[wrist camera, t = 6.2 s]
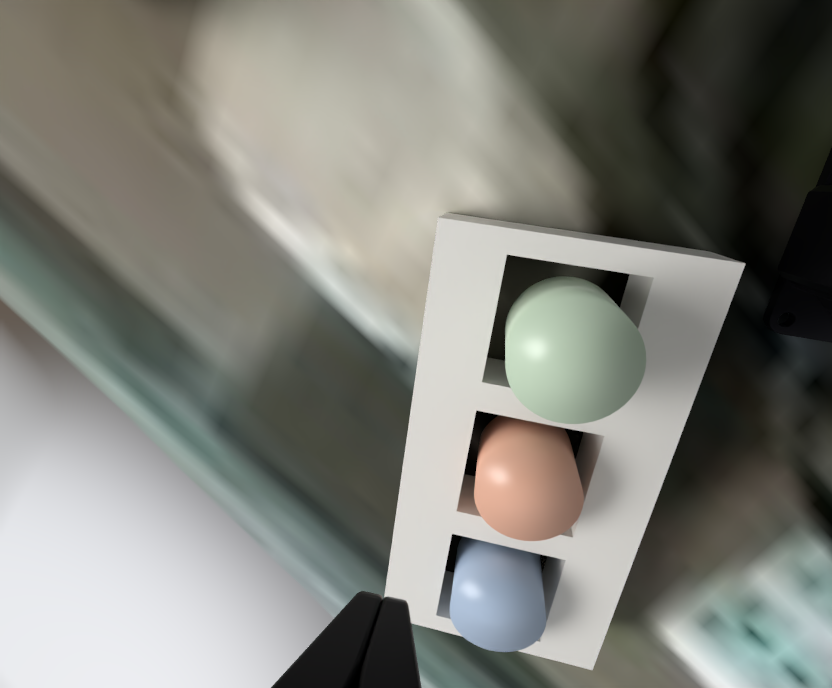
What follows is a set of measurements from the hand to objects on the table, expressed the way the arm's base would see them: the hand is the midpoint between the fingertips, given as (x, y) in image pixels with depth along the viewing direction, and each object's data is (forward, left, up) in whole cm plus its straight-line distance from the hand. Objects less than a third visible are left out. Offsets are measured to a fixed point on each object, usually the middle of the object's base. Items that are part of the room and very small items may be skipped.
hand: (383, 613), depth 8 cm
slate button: (-3, +8, -11) cm, 14 cm away
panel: (-3, +3, -12) cm, 12 cm away
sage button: (-3, -3, -9) cm, 10 cm away
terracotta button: (-3, +3, -11) cm, 12 cm away
